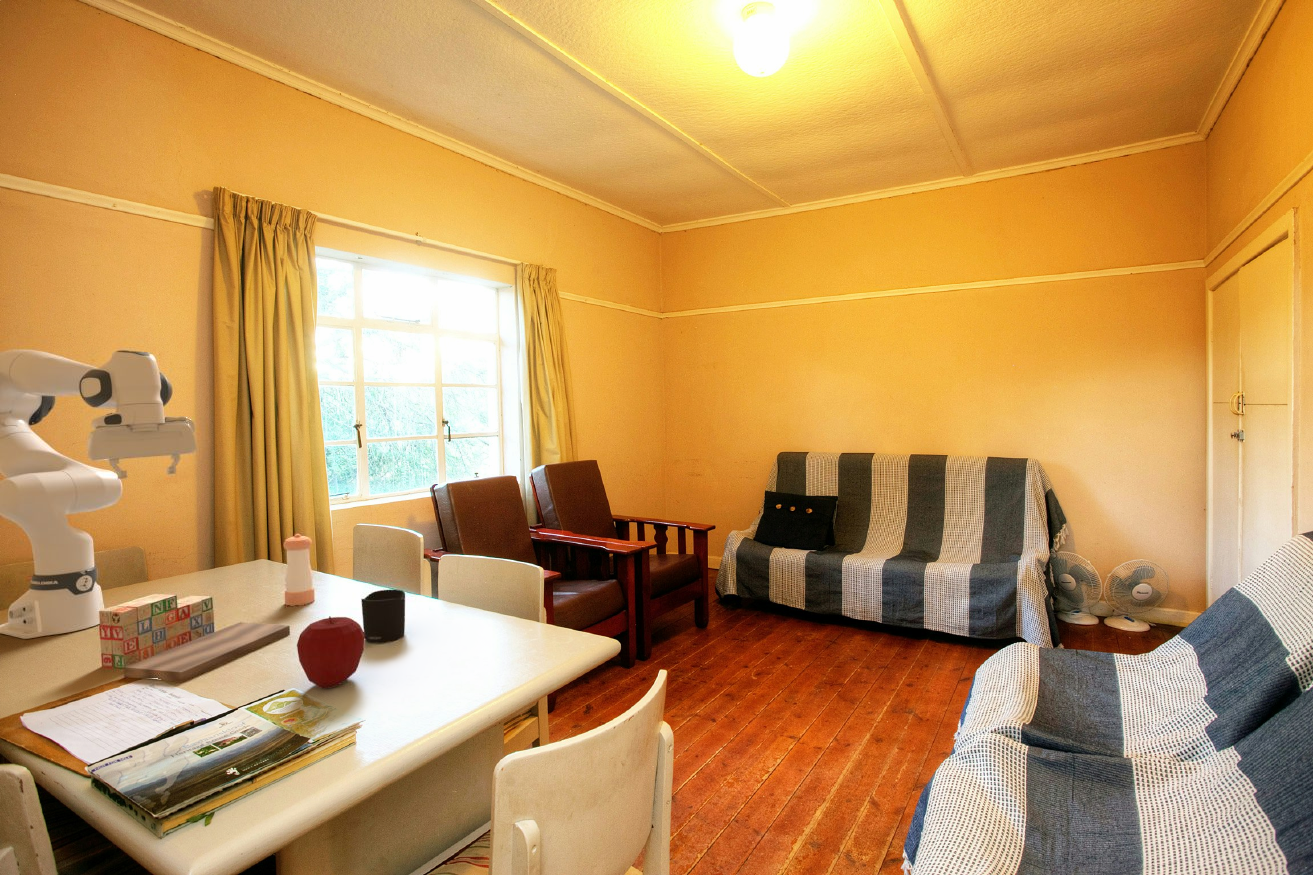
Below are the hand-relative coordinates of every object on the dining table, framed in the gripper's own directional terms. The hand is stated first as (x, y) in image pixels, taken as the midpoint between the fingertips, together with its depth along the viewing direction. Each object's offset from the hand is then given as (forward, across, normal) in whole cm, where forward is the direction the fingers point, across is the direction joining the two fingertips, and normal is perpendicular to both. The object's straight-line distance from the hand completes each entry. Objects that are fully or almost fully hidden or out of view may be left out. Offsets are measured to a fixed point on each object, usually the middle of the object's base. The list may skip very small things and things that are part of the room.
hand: (147, 476), depth 154 cm
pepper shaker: (+39, -32, -5) cm, 51 cm away
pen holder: (+44, -32, +41) cm, 68 cm away
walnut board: (+41, -4, +21) cm, 46 cm away
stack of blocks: (+40, +3, +9) cm, 41 cm away
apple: (+45, -12, +58) cm, 74 cm away
